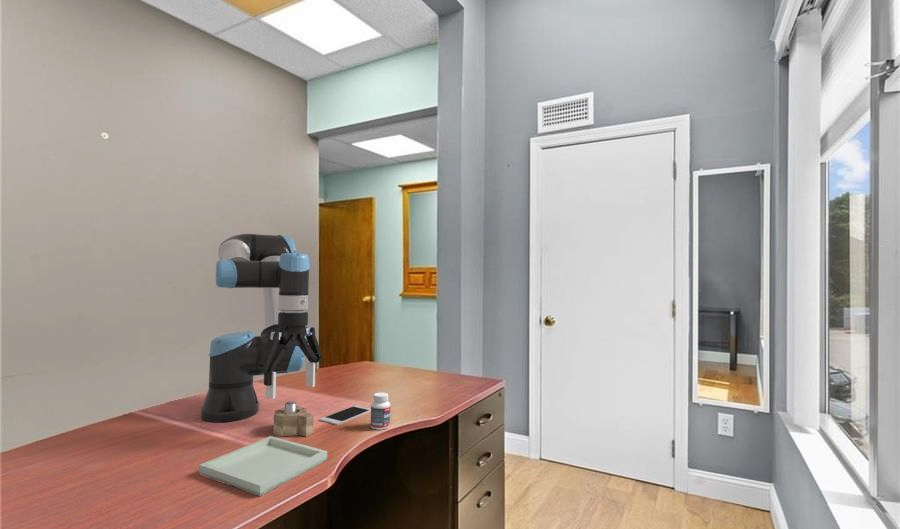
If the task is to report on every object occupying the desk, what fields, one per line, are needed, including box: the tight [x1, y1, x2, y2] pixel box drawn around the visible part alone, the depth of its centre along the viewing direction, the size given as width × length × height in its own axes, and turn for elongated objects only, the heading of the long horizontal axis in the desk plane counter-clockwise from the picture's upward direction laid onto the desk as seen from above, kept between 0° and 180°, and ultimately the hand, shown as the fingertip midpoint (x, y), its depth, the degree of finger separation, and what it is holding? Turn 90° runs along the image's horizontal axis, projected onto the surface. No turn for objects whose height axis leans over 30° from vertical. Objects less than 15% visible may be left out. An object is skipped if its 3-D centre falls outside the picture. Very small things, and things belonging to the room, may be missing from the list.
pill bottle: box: [370, 391, 391, 431], centre depth 119 cm, size 5×5×9 cm
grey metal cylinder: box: [284, 401, 297, 415], centre depth 115 cm, size 3×3×7 cm
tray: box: [198, 435, 328, 497], centre depth 94 cm, size 18×18×2 cm
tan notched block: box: [273, 405, 314, 438], centre depth 114 cm, size 11×8×5 cm
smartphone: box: [319, 404, 371, 426], centre depth 128 cm, size 7×15×1 cm, turn 151°
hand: (291, 391), depth 115 cm, fingers open, 13 cm apart
